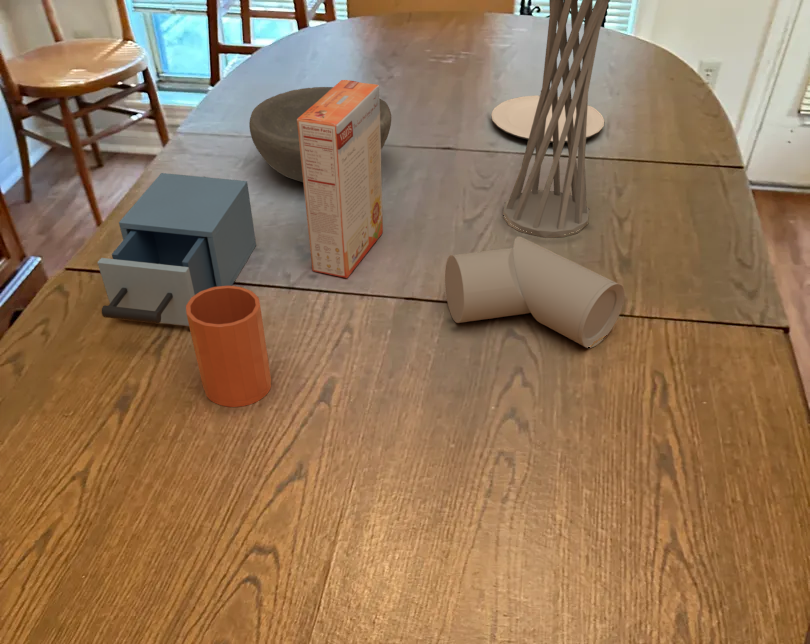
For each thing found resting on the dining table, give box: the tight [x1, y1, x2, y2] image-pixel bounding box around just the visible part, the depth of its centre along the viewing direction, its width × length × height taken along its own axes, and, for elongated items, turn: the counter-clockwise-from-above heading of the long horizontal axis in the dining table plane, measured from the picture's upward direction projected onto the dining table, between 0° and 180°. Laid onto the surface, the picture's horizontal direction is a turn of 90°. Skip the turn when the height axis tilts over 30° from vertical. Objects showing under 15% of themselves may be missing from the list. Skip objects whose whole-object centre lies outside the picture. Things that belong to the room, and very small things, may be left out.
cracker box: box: [297, 79, 384, 279], centre depth 107 cm, size 14×6×21 cm, turn 159°
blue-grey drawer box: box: [118, 172, 257, 287], centre depth 109 cm, size 15×13×10 cm
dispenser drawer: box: [97, 229, 216, 327], centre depth 101 cm, size 19×11×8 cm, turn 170°
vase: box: [502, 0, 610, 239], centre depth 110 cm, size 14×13×35 cm
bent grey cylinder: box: [444, 235, 625, 349], centre depth 101 cm, size 18×11×20 cm
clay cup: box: [186, 285, 272, 408], centre depth 90 cm, size 8×8×11 cm
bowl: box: [248, 86, 392, 183], centre depth 129 cm, size 23×22×10 cm
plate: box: [490, 95, 605, 144], centre depth 145 cm, size 21×21×2 cm
